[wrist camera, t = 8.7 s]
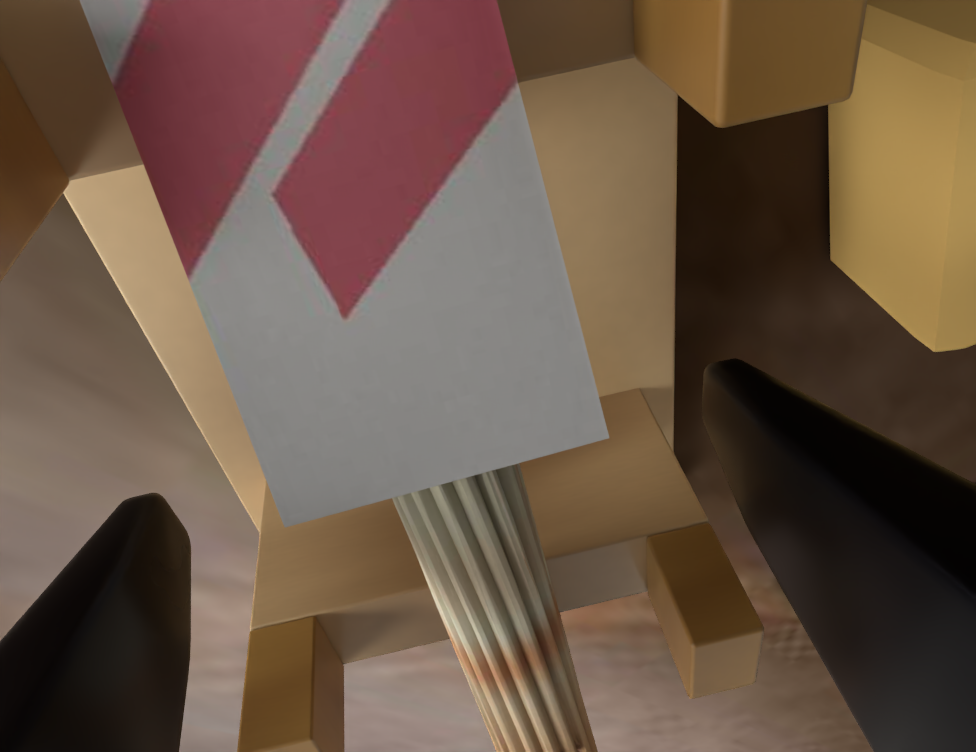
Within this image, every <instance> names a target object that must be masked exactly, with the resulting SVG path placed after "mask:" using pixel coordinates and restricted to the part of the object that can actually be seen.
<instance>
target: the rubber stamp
mask: <svg viewBox="0 0 976 752" xmlns="http://www.w3.org/2000/svg"><path fill="white" fill-rule="evenodd" d="M828 129H829V198H830V260H831V261H832V262H833V263H834V264H835V265H837V266H838V267H839V268H840V269H841V270H842V271H843V272H844V273H845V274H846V275H847V276H849V277H850V278H851V279H852V280H853V281H854V282H855V283H856V284H857V285H858V286H859V287H861V288H862V289H863V290H864V291H865V292H866V293H867V294H868V295H869V296H870V297H871V298H872V299H874V300H875V301H876V302H877V303H878V304H879V305H880V306H881V307H882V308H883V309H884V310H886V311H887V312H888V313H889V314H890V315H891V316H892V317H893V318H894V319H895V320H896V321H897V322H899V323H900V324H901V325H902V326H903V327H904V328H905V329H906V330H907V331H908V332H909V333H911V334H912V335H913V336H914V337H915V338H916V339H918V340H919V341H920V342H922V343H923V344H924V345H926V346H927V347H928V348H930V349H931V350H932V351H934V352H941V351H949V350H956V349H962V348H966V347H969V346H972V345H975V344H976V0H868V1H867V7H866V13H865V19H864V25H863V31H862V37H861V43H860V49H859V55H858V61H857V67H856V73H855V80H854V86H853V92H852V94H851V96H850V98H849V99H847V100H845V101H843V102H838V103H834V104H829V105H828Z"/></svg>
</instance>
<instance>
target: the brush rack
mask: <svg viewBox="0 0 976 752" xmlns="http://www.w3.org/2000/svg"><path fill="white" fill-rule="evenodd" d="M867 1H868V0H497V3H498V7H499V11H500V15H501V19H502V23H503V27H504V31H505V34H506V38H507V42H508V46H509V50H510V54H511V58H512V62H513V65H514V69H515V73H516V77H517V81H518V85H519V89H520V93H521V97H522V100H523V104H524V108H525V112H526V116H527V120H528V124H529V128H530V131H531V135H532V139H533V143H534V147H535V151H536V155H537V159H538V163H539V166H540V170H541V174H542V178H543V182H544V186H545V190H546V194H547V197H548V201H549V205H550V209H551V213H552V217H553V221H554V225H555V229H556V232H557V236H558V240H559V244H560V248H561V252H562V256H563V260H564V263H565V267H566V271H567V275H568V279H569V283H570V287H571V291H572V295H573V298H574V302H575V306H576V310H577V314H578V318H579V322H580V326H581V329H582V333H583V337H584V341H585V345H586V349H587V353H588V357H589V361H590V364H591V368H592V372H593V376H594V380H595V384H596V388H597V392H598V395H599V399H600V403H601V407H602V411H603V415H604V419H605V423H606V427H607V430H608V434H609V438H608V439H605V440H601V441H597V442H594V443H590V444H586V445H583V446H579V447H576V448H572V449H568V450H565V451H561V452H557V453H554V454H550V455H547V456H543V457H539V458H536V459H532V460H528V461H525V462H521V463H519V464H520V468H521V472H522V475H523V479H524V482H525V486H526V490H527V494H528V497H529V501H530V505H531V508H532V512H533V516H534V520H535V523H536V527H537V531H538V535H539V538H540V542H541V546H542V549H543V553H544V557H545V561H546V564H547V568H548V572H549V575H550V579H551V583H552V587H553V590H554V594H555V598H556V602H557V605H558V609H559V612H563V611H567V610H571V609H576V608H580V607H584V606H588V605H592V604H596V603H601V602H605V601H609V600H613V599H617V598H622V597H626V596H630V595H634V594H638V593H642V592H647V591H648V596H649V598H650V601H651V603H652V606H653V608H654V611H655V613H656V616H657V618H658V621H659V623H660V626H661V629H662V631H663V634H664V636H665V639H666V641H667V644H668V646H669V649H670V651H671V654H672V656H673V659H674V661H675V664H676V666H677V669H678V672H679V674H680V677H681V679H682V682H683V684H684V687H685V689H686V692H687V694H688V696H689V697H690V698H691V699H694V698H698V697H702V696H707V695H711V694H715V693H719V692H723V691H727V690H731V689H735V688H739V687H743V686H747V685H752V684H754V683H755V682H756V677H757V671H758V665H759V659H760V652H761V646H762V640H763V634H764V627H763V625H762V623H761V621H760V619H759V617H758V615H757V613H756V611H755V609H754V607H753V605H752V604H751V602H750V600H749V598H748V596H747V594H746V592H745V590H744V588H743V586H742V584H741V582H740V580H739V579H738V577H737V575H736V573H735V571H734V569H733V567H732V565H731V563H730V561H729V559H728V557H727V555H726V554H725V552H724V550H723V548H722V546H721V544H720V542H719V540H718V538H717V536H716V534H715V532H714V530H713V528H712V527H711V525H710V524H709V523H708V518H707V516H706V514H705V512H704V510H703V508H702V507H701V505H700V503H699V501H698V499H697V497H696V495H695V493H694V491H693V489H692V487H691V485H690V483H689V482H688V480H687V478H686V476H685V474H684V472H683V470H682V468H681V466H680V464H679V462H678V460H677V458H676V457H675V455H674V453H673V450H674V365H675V280H676V195H677V110H678V95H679V96H680V97H681V98H682V99H683V100H685V101H686V102H687V103H688V104H689V105H690V106H692V107H693V108H694V109H695V110H696V111H698V112H699V113H700V114H701V115H702V116H703V117H705V118H706V119H707V120H708V121H709V122H710V123H712V124H713V125H714V126H715V127H720V128H725V127H730V126H734V125H739V124H743V123H748V122H752V121H757V120H761V119H766V118H771V117H775V116H780V115H784V114H789V113H793V112H798V111H802V110H807V109H811V108H816V107H820V106H825V105H829V104H834V103H838V102H843V101H845V100H847V99H849V98H850V96H851V94H852V92H853V86H854V80H855V73H856V67H857V61H858V55H859V49H860V43H861V37H862V31H863V25H864V19H865V13H866V7H867ZM63 193H64V195H65V197H66V198H67V200H68V202H69V204H70V205H71V207H72V209H73V211H74V212H75V214H76V216H77V217H78V219H79V221H80V223H81V224H82V226H83V228H84V230H85V231H86V233H87V235H88V237H89V238H90V240H91V242H92V243H93V245H94V247H95V249H96V250H97V252H98V254H99V256H100V257H101V259H102V261H103V263H104V264H105V266H106V268H107V269H108V271H109V273H110V275H111V276H112V278H113V280H114V282H115V283H116V285H117V287H118V289H119V290H120V292H121V294H122V295H123V297H124V299H125V301H126V302H127V304H128V306H129V308H130V309H131V311H132V313H133V315H134V316H135V318H136V320H137V321H138V323H139V325H140V327H141V328H142V330H143V332H144V334H145V335H146V337H147V339H148V341H149V342H150V344H151V346H152V347H153V349H154V351H155V353H156V354H157V356H158V358H159V360H160V361H161V363H162V365H163V367H164V368H165V370H166V372H167V373H168V375H169V377H170V379H171V380H172V382H173V384H174V386H175V387H176V389H177V391H178V393H179V394H180V396H181V398H182V399H183V401H184V403H185V405H186V406H187V408H188V410H189V412H190V413H191V415H192V417H193V419H194V420H195V422H196V424H197V425H198V427H199V429H200V431H201V432H202V434H203V436H204V438H205V439H206V441H207V443H208V445H209V446H210V448H211V450H212V451H213V453H214V455H215V457H216V458H217V460H218V462H219V464H220V465H221V467H222V469H223V471H224V472H225V474H226V476H227V477H228V479H229V481H230V483H231V484H232V486H233V488H234V490H235V491H236V493H237V495H238V497H239V498H240V500H241V502H242V503H243V505H244V507H245V509H246V510H247V512H248V514H249V516H250V517H251V519H252V521H253V523H254V524H255V526H256V528H257V529H258V531H259V533H260V538H259V548H258V557H257V567H256V576H255V586H254V596H253V605H252V615H251V624H250V630H251V631H250V634H249V643H248V653H247V663H246V672H245V682H244V691H243V701H242V710H241V720H240V730H239V739H238V749H237V752H344V666H343V664H346V663H350V662H354V661H359V660H363V659H367V658H371V657H375V656H379V655H384V654H388V653H392V652H396V651H400V650H405V649H409V648H413V647H417V646H421V645H425V644H430V643H434V642H438V641H442V640H446V639H450V637H449V635H448V632H447V630H446V628H445V625H444V623H443V620H442V618H441V615H440V613H439V611H438V608H437V606H436V603H435V601H434V598H433V596H432V593H431V591H430V588H429V586H428V583H427V581H426V578H425V576H424V573H423V571H422V568H421V566H420V563H419V561H418V558H417V556H416V553H415V551H414V548H413V546H412V544H411V541H410V539H409V537H408V534H407V532H406V530H405V527H404V525H403V523H402V521H401V518H400V516H399V514H398V511H397V509H396V507H395V504H394V502H393V500H392V498H391V499H387V500H383V501H380V502H376V503H372V504H369V505H365V506H362V507H358V508H354V509H351V510H347V511H343V512H340V513H336V514H333V515H329V516H325V517H322V518H318V519H314V520H311V521H307V522H303V523H300V524H296V525H293V526H289V527H284V525H283V522H282V519H281V517H280V514H279V512H278V509H277V507H276V504H275V501H274V499H273V496H272V494H271V491H270V489H269V486H268V483H267V481H266V478H265V476H264V473H263V471H262V468H261V465H260V463H259V460H258V458H257V455H256V453H255V450H254V447H253V445H252V442H251V440H250V437H249V435H248V432H247V429H246V427H245V424H244V422H243V419H242V417H241V414H240V411H239V409H238V406H237V404H236V401H235V399H234V396H233V393H232V391H231V388H230V386H229V383H228V381H227V378H226V375H225V373H224V370H223V368H222V365H221V363H220V360H219V357H218V355H217V352H216V350H215V347H214V345H213V342H212V339H211V337H210V334H209V332H208V329H207V327H206V324H205V321H204V319H203V316H202V314H201V311H200V309H199V306H198V303H197V301H196V298H195V296H194V293H193V291H192V288H191V285H190V283H189V280H188V278H187V275H186V273H185V270H184V267H183V265H182V262H181V260H180V257H179V255H178V252H177V249H176V247H175V244H174V242H173V239H172V237H171V234H170V231H169V229H168V226H167V224H166V221H165V219H164V216H163V213H162V211H161V208H160V206H159V203H158V201H157V198H156V195H155V193H154V190H153V188H152V185H151V183H150V180H149V177H148V175H147V172H146V170H145V167H144V165H143V162H142V159H141V157H140V154H139V152H138V149H137V147H136V144H135V141H134V139H133V136H132V134H131V131H130V129H129V126H128V123H127V121H126V118H125V116H124V113H123V111H122V108H121V105H120V103H119V100H118V98H117V95H116V93H115V90H114V87H113V85H112V82H111V80H110V77H109V75H108V72H107V69H106V67H105V64H104V62H103V59H102V57H101V54H100V51H99V49H98V46H97V44H96V41H95V39H94V36H93V33H92V31H91V28H90V26H89V23H88V21H87V18H86V15H85V13H84V10H83V8H82V5H81V3H80V0H0V282H1V280H2V279H3V278H4V276H5V275H6V273H7V272H8V270H9V269H10V268H11V266H12V265H13V263H14V262H15V260H16V259H17V258H18V256H19V255H20V253H21V252H22V250H23V249H24V248H25V246H26V245H27V243H28V242H29V240H30V239H31V238H32V236H33V235H34V233H35V232H36V231H37V229H38V228H39V226H40V225H41V223H42V222H43V221H44V219H45V218H46V216H47V215H48V213H49V212H50V211H51V209H52V208H53V206H54V205H55V203H56V202H57V201H58V199H59V198H60V196H61V195H62V194H63Z"/></svg>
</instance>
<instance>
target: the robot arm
mask: <svg viewBox="0 0 976 752" xmlns="http://www.w3.org/2000/svg"><path fill="white" fill-rule="evenodd" d="M702 416H703V421H704V424H705V427H706V430H707V432H708V435H709V437H710V439H711V442H712V444H713V447H714V449H715V452H716V454H717V456H718V459H719V461H720V464H721V466H722V468H723V471H724V473H725V476H726V478H727V480H728V483H729V485H730V488H731V490H732V492H733V495H734V497H735V500H736V502H737V504H738V507H739V509H740V511H741V514H742V516H743V518H744V521H745V523H746V525H747V527H748V529H749V531H750V532H751V534H752V536H753V538H754V540H755V542H756V544H757V545H758V547H759V549H760V551H761V552H762V554H763V556H764V558H765V560H766V561H767V563H768V565H769V567H770V568H771V570H772V572H773V574H774V576H775V577H776V579H777V581H778V583H779V584H780V586H781V588H782V590H783V591H784V593H785V595H786V597H787V599H788V600H789V602H790V604H791V606H792V607H793V609H794V611H795V613H796V615H797V616H798V618H799V620H800V622H801V623H802V625H803V627H804V629H805V631H806V632H807V634H808V636H809V638H810V639H811V641H812V643H813V645H814V647H815V648H816V650H817V652H818V654H819V655H820V657H821V659H822V661H823V662H824V664H825V666H826V668H827V670H828V671H829V673H830V675H831V677H832V678H833V680H834V682H835V684H836V686H837V687H838V689H839V691H840V693H841V694H842V696H843V698H844V700H845V702H846V703H847V705H848V707H849V709H850V710H851V712H852V714H853V716H854V718H855V719H856V721H857V723H858V725H859V726H860V728H861V730H862V732H863V733H864V735H865V737H866V739H867V741H868V742H869V744H870V746H871V748H872V749H873V751H874V752H976V484H974V483H972V482H970V481H969V480H967V479H965V478H963V477H961V476H959V475H957V474H955V473H953V472H952V471H950V470H948V469H946V468H944V467H942V466H940V465H938V464H936V463H935V462H933V461H931V460H929V459H927V458H925V457H923V456H921V455H919V454H918V453H916V452H914V451H912V450H910V449H908V448H906V447H904V446H903V445H901V444H899V443H897V442H895V441H893V440H891V439H889V438H887V437H886V436H884V435H882V434H880V433H878V432H876V431H874V430H872V429H870V428H869V427H867V426H865V425H863V424H861V423H859V422H857V421H855V420H853V419H852V418H850V417H848V416H846V415H844V414H842V413H840V412H838V411H836V410H835V409H833V408H831V407H829V406H827V405H825V404H823V403H821V402H819V401H818V400H816V399H814V398H812V397H810V396H808V395H806V394H804V393H803V392H801V391H799V390H797V389H795V388H793V387H791V386H789V385H787V384H786V383H784V382H782V381H780V380H778V379H776V378H774V377H772V376H770V375H769V374H767V373H765V372H763V371H761V370H759V369H757V368H755V367H753V366H752V365H750V364H748V363H746V362H744V361H742V360H740V359H736V358H735V359H728V360H724V361H719V362H715V363H711V364H709V365H707V366H706V368H705V370H704V376H703V398H702ZM190 641H191V545H190V539H189V536H188V533H187V531H186V529H185V528H184V526H183V525H182V523H181V522H180V520H179V519H178V517H177V516H176V515H175V513H174V512H173V510H172V509H171V507H170V506H169V504H168V503H167V501H166V500H165V499H164V498H163V496H161V495H160V494H158V493H149V494H145V495H141V496H137V497H132V498H129V499H126V500H125V501H123V502H122V503H121V504H120V505H119V506H118V507H117V508H116V509H115V511H114V512H113V513H112V514H111V515H110V516H109V517H108V519H107V520H106V521H105V522H104V523H103V524H102V526H101V527H100V528H99V529H98V530H97V531H96V532H95V534H94V535H93V536H92V537H91V538H90V539H89V540H88V542H87V543H86V544H85V545H84V546H83V547H82V548H81V550H80V551H79V552H78V553H77V554H76V555H75V556H74V558H73V559H72V560H71V561H70V562H69V563H68V564H67V566H66V567H65V568H64V569H63V570H62V571H61V572H60V574H59V575H58V576H57V577H56V578H55V579H54V580H53V582H52V583H51V584H50V585H49V586H48V587H47V588H46V590H45V591H44V592H43V593H42V594H41V595H40V596H39V598H38V599H37V600H36V601H35V602H34V603H33V604H32V606H31V607H30V608H29V609H28V610H27V611H26V612H25V614H24V615H23V616H22V617H21V618H20V619H19V620H18V622H17V623H16V624H15V625H14V626H13V627H12V628H11V630H10V631H9V632H8V633H7V634H6V635H5V636H4V638H3V639H2V640H1V641H0V752H179V746H180V738H181V730H182V722H183V713H184V705H185V697H186V689H187V681H188V672H189V661H190Z"/></svg>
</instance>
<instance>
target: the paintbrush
mask: <svg viewBox="0 0 976 752" xmlns="http://www.w3.org/2000/svg"><path fill="white" fill-rule="evenodd" d="M80 3H81V5H82V8H83V10H84V13H85V15H86V18H87V21H88V23H89V26H90V28H91V31H92V33H93V36H94V39H95V41H96V44H97V46H98V49H99V51H100V54H101V57H102V59H103V62H104V64H105V67H106V69H107V72H108V75H109V77H110V80H111V82H112V85H113V87H114V90H115V93H116V95H117V98H118V100H119V103H120V105H121V108H122V111H123V113H124V116H125V118H126V121H127V123H128V126H129V129H130V131H131V134H132V136H133V139H134V141H135V144H136V147H137V149H138V152H139V154H140V157H141V159H142V162H143V165H144V167H145V170H146V172H147V175H148V177H149V180H150V183H151V185H152V188H153V190H154V193H155V195H156V198H157V201H158V203H159V206H160V208H161V211H162V213H163V216H164V219H165V221H166V224H167V226H168V229H169V231H170V234H171V237H172V239H173V242H174V244H175V247H176V249H177V252H178V255H179V257H180V260H181V262H182V265H183V267H184V270H185V273H186V275H187V278H188V280H189V283H190V285H191V288H192V291H193V293H194V296H195V298H196V301H197V303H198V306H199V309H200V311H201V314H202V316H203V319H204V321H205V324H206V327H207V329H208V332H209V334H210V337H211V339H212V342H213V345H214V347H215V350H216V352H217V355H218V357H219V360H220V363H221V365H222V368H223V370H224V373H225V375H226V378H227V381H228V383H229V386H230V388H231V391H232V393H233V396H234V399H235V401H236V404H237V406H238V409H239V411H240V414H241V417H242V419H243V422H244V424H245V427H246V429H247V432H248V435H249V437H250V440H251V442H252V445H253V447H254V450H255V453H256V455H257V458H258V460H259V463H260V465H261V468H262V471H263V473H264V476H265V478H266V481H267V483H268V486H269V489H270V491H271V494H272V496H273V499H274V501H275V504H276V507H277V509H278V512H279V514H280V517H281V519H282V522H283V525H284V527H289V526H293V525H296V524H300V523H303V522H307V521H311V520H314V519H318V518H322V517H325V516H329V515H333V514H336V513H340V512H343V511H347V510H351V509H354V508H358V507H362V506H365V505H369V504H372V503H376V502H380V501H383V500H387V499H391V498H392V500H393V502H394V504H395V507H396V509H397V511H398V514H399V516H400V518H401V521H402V523H403V525H404V527H405V530H406V532H407V534H408V537H409V539H410V541H411V544H412V546H413V548H414V551H415V553H416V556H417V558H418V561H419V563H420V566H421V568H422V571H423V573H424V576H425V578H426V581H427V583H428V586H429V588H430V591H431V593H432V596H433V598H434V601H435V603H436V606H437V608H438V611H439V613H440V615H441V618H442V620H443V623H444V625H445V628H446V630H447V632H448V635H449V637H450V640H451V642H452V645H453V647H454V649H455V652H456V654H457V657H458V659H459V662H460V664H461V666H462V669H463V671H464V674H465V676H466V679H467V681H468V683H469V686H470V688H471V691H472V693H473V696H474V698H475V700H476V703H477V705H478V708H479V710H480V713H481V715H482V717H483V720H484V722H485V725H486V727H487V730H488V732H489V734H490V737H491V739H492V742H493V744H494V747H495V749H496V751H497V752H598V751H597V748H596V744H595V741H594V737H593V734H592V730H591V727H590V724H589V720H588V717H587V713H586V710H585V706H584V703H583V699H582V696H581V692H580V688H579V684H578V681H577V677H576V673H575V669H574V665H573V662H572V658H571V654H570V650H569V646H568V642H567V639H566V635H565V631H564V628H563V624H562V620H561V616H560V613H559V609H558V605H557V602H556V598H555V594H554V590H553V587H552V583H551V579H550V575H549V572H548V568H547V564H546V561H545V557H544V553H543V549H542V546H541V542H540V538H539V535H538V531H537V527H536V523H535V520H534V516H533V512H532V508H531V505H530V501H529V497H528V494H527V490H526V486H525V482H524V479H523V475H522V472H521V468H520V464H519V463H521V462H525V461H528V460H532V459H536V458H539V457H543V456H547V455H550V454H554V453H557V452H561V451H565V450H568V449H572V448H576V447H579V446H583V445H586V444H590V443H594V442H597V441H601V440H605V439H608V438H609V434H608V430H607V427H606V423H605V419H604V415H603V411H602V407H601V403H600V399H599V395H598V392H597V388H596V384H595V380H594V376H593V372H592V368H591V364H590V361H589V357H588V353H587V349H586V345H585V341H584V337H583V333H582V329H581V326H580V322H579V318H578V314H577V310H576V306H575V302H574V298H573V295H572V291H571V287H570V283H569V279H568V275H567V271H566V267H565V263H564V260H563V256H562V252H561V248H560V244H559V240H558V236H557V232H556V229H555V225H554V221H553V217H552V213H551V209H550V205H549V201H548V197H547V194H546V190H545V186H544V182H543V178H542V174H541V170H540V166H539V163H538V159H537V155H536V151H535V147H534V143H533V139H532V135H531V131H530V128H529V124H528V120H527V116H526V112H525V108H524V104H523V100H522V97H521V93H520V89H519V85H518V81H517V77H516V73H515V69H514V65H513V62H512V58H511V54H510V50H509V46H508V42H507V38H506V34H505V31H504V27H503V23H502V19H501V15H500V11H499V7H498V3H497V0H80Z"/></svg>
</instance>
